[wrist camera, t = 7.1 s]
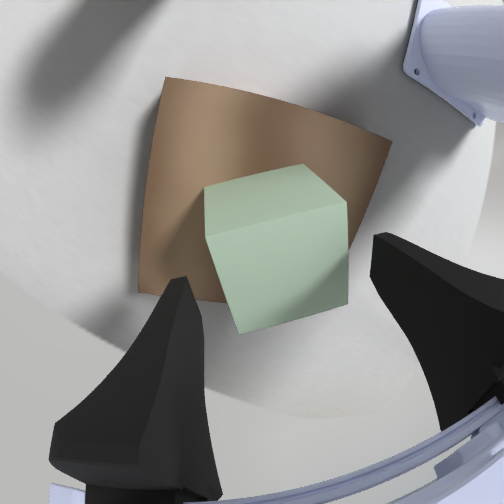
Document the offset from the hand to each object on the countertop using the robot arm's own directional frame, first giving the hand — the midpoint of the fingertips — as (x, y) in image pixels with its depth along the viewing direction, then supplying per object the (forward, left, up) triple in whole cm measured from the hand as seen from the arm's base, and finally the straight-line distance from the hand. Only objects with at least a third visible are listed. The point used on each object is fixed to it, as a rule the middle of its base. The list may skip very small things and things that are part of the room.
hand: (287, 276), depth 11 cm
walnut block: (0, 0, -9) cm, 9 cm away
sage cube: (0, 0, -5) cm, 5 cm away
